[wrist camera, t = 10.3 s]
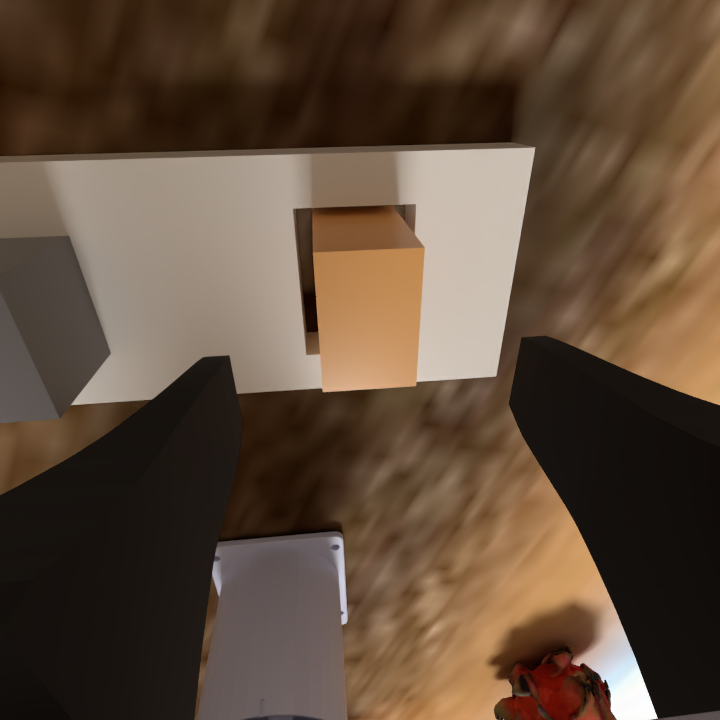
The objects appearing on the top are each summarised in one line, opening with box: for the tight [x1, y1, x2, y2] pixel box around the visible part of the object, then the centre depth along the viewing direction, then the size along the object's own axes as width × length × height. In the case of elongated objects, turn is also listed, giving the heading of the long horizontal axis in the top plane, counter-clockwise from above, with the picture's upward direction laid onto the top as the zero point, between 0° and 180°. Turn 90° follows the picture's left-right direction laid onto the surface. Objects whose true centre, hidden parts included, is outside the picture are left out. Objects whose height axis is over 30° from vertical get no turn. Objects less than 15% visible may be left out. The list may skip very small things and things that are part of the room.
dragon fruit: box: [494, 646, 616, 720], centre depth 35 cm, size 8×8×12 cm
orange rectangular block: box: [312, 205, 425, 392], centre depth 15 cm, size 4×3×6 cm, turn 1°
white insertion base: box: [0, 142, 535, 423], centre depth 15 cm, size 9×22×6 cm, turn 91°
